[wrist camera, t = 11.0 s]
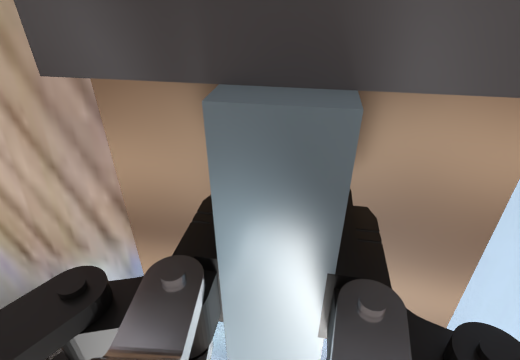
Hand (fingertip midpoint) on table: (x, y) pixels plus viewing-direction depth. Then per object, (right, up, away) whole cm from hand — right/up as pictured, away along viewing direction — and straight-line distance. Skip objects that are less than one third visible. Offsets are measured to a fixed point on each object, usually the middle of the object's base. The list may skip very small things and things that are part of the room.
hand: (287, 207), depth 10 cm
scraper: (0, -1, +2) cm, 3 cm away
